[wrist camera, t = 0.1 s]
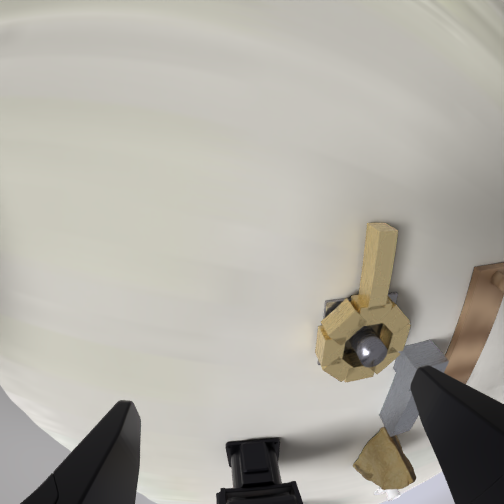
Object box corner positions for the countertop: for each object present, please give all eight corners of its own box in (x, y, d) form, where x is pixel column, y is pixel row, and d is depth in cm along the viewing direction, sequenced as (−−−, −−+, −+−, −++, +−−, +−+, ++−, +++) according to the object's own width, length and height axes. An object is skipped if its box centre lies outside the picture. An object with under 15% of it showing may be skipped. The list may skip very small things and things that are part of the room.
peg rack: (462, 380, 33) (475, 397, 29) (427, 393, 32) (441, 413, 28) (507, 261, 26) (529, 275, 22) (474, 267, 25) (498, 283, 21)
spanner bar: (402, 407, 32) (414, 428, 29) (374, 416, 32) (385, 438, 28) (430, 339, 28) (449, 360, 24) (399, 347, 28) (417, 371, 24)
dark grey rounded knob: (381, 351, 27) (398, 377, 24) (317, 363, 27) (329, 392, 23) (396, 292, 25) (419, 315, 21) (325, 300, 24) (341, 328, 20)
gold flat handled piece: (387, 358, 27) (396, 370, 25) (312, 372, 26) (317, 387, 24) (417, 222, 22) (431, 229, 20) (326, 224, 21) (336, 233, 19)
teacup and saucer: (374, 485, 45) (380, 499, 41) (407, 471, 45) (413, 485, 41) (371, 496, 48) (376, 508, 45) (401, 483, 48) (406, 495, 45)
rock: (367, 477, 37) (417, 453, 34) (359, 508, 29) (417, 484, 26) (336, 440, 40) (388, 413, 36) (325, 469, 32) (385, 442, 29)
